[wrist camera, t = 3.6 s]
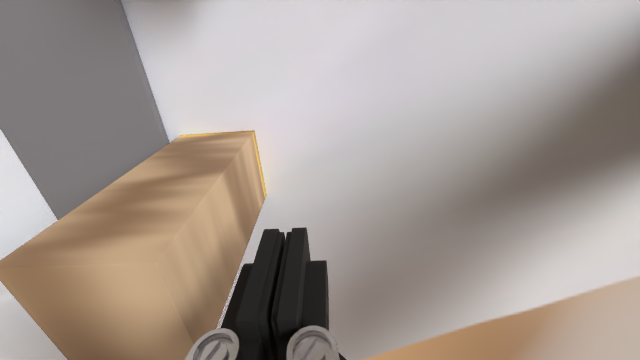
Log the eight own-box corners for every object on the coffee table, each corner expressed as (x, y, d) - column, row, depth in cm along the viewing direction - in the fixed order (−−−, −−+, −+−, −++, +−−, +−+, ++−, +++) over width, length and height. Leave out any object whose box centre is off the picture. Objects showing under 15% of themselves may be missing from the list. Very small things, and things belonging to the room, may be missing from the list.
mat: (106, -40, 14) (98, -43, 14) (218, 286, 25) (216, 291, 25) (-81, -22, 15) (-96, -24, 14) (109, 289, 26) (105, 295, 25)
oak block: (254, 130, 18) (155, 261, 8) (266, 194, 21) (202, 363, 10) (181, 135, 19) (-11, 268, 8) (201, 197, 21) (72, 365, 10)
